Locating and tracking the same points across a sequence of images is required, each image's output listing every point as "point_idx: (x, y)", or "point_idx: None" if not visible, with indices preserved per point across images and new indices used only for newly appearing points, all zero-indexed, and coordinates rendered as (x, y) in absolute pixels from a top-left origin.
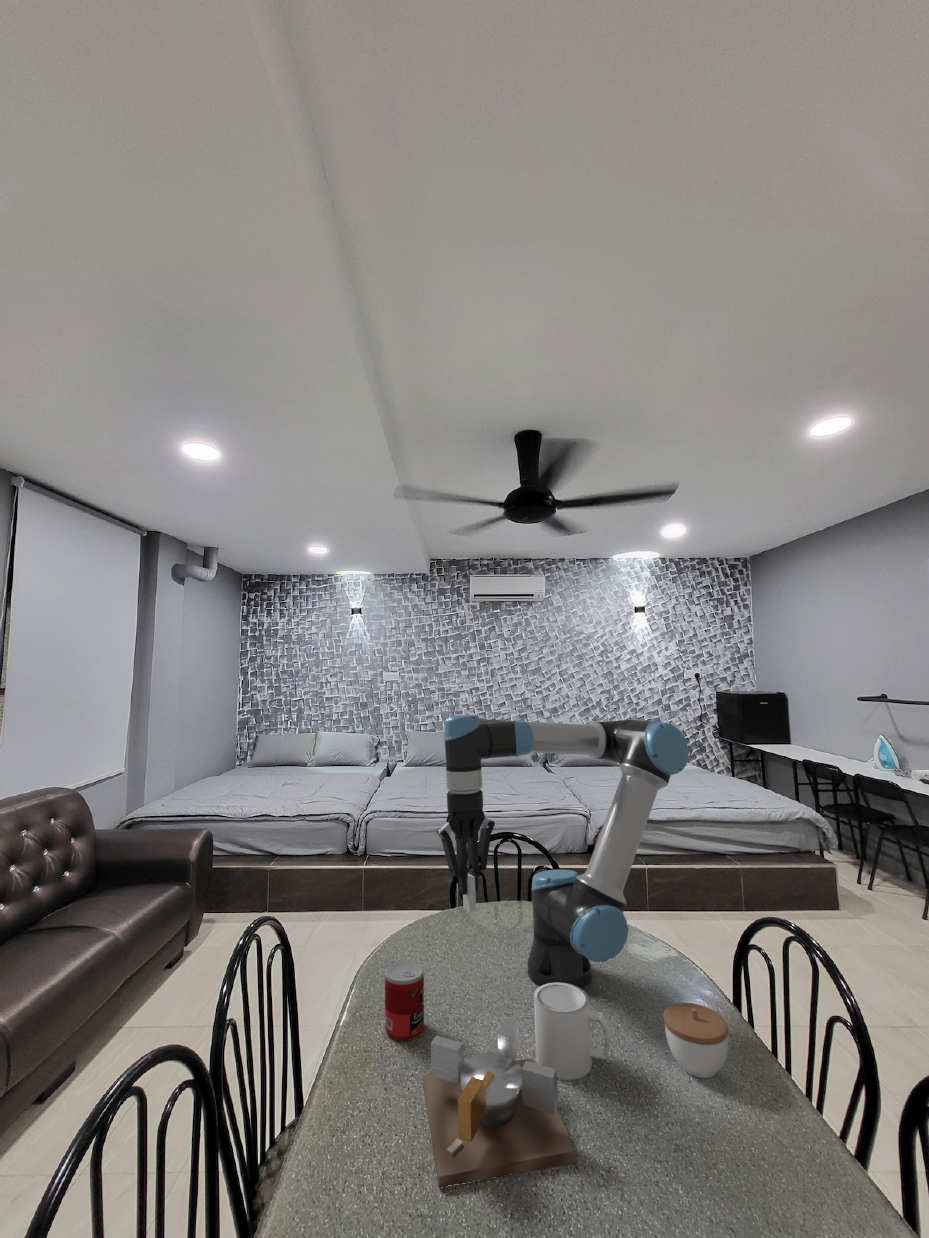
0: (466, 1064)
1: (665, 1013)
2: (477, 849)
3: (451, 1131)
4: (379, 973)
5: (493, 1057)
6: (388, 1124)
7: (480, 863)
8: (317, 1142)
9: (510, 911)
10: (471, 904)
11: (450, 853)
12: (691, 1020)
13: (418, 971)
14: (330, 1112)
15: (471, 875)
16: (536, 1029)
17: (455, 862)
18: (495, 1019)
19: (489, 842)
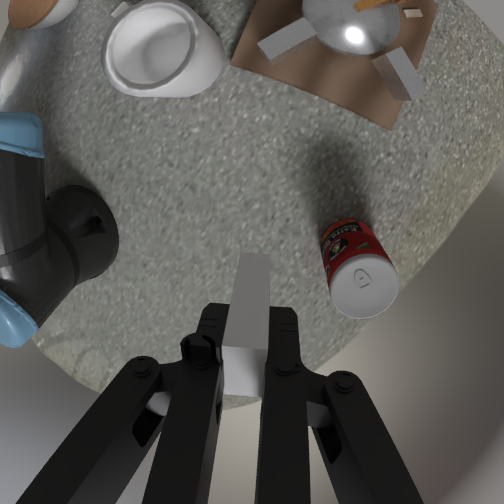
0: (377, 47)
1: (45, 8)
2: (150, 487)
3: (405, 31)
4: (303, 362)
5: (330, 32)
6: (446, 104)
7: (149, 401)
8: (500, 139)
9: (87, 372)
10: (260, 267)
11: (415, 500)
12: None
13: (343, 278)
14: (480, 166)
15: (227, 366)
16: (210, 62)
17: (367, 445)
18: (216, 187)
19: (39, 477)
